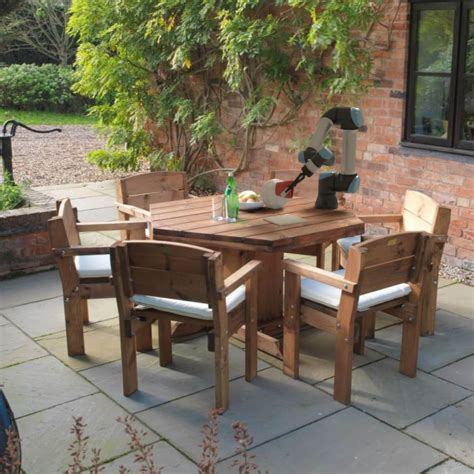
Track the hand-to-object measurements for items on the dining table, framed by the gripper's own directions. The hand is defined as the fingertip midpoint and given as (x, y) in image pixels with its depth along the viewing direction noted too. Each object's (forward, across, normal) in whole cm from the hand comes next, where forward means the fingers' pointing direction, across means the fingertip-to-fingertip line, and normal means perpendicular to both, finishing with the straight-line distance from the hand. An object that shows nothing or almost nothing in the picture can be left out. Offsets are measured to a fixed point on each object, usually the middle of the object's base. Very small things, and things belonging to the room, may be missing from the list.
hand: (283, 194), depth 432 cm
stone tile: (+10, 0, +12) cm, 16 cm away
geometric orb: (+19, -32, +4) cm, 38 cm away
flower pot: (+1, 0, -5) cm, 5 cm away
